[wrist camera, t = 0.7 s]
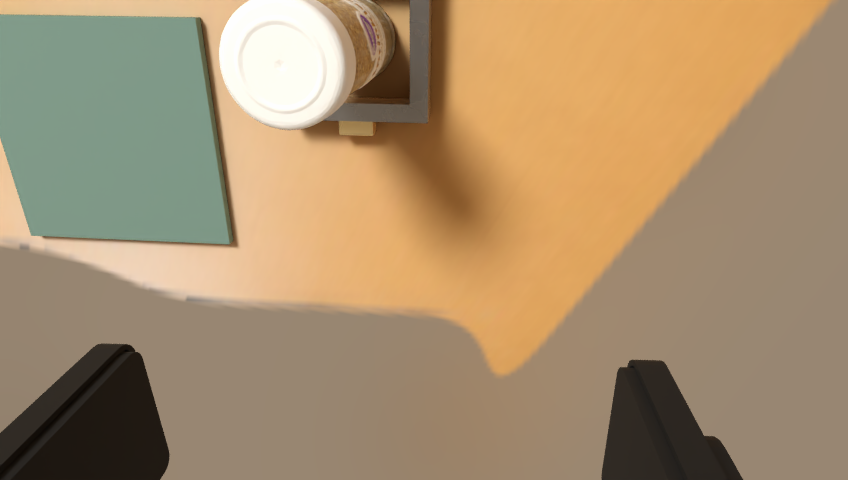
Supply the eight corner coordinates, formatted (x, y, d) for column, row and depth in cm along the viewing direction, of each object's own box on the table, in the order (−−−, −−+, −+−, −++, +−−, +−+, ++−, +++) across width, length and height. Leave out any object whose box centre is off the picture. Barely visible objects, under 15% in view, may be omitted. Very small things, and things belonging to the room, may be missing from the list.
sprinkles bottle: (412, 50, 31) (372, 86, 18) (349, 95, 32) (273, 157, 20) (364, -24, 29) (287, -38, 17) (300, 27, 31) (186, 47, 18)
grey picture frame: (273, -68, 29) (260, -72, 27) (432, -67, 28) (430, -72, 26) (291, 128, 33) (281, 136, 31) (429, 132, 32) (427, 140, 31)
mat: (-30, 14, 32) (-39, 14, 31) (199, 17, 31) (195, 17, 30) (37, 232, 37) (31, 235, 37) (233, 240, 37) (229, 244, 36)
